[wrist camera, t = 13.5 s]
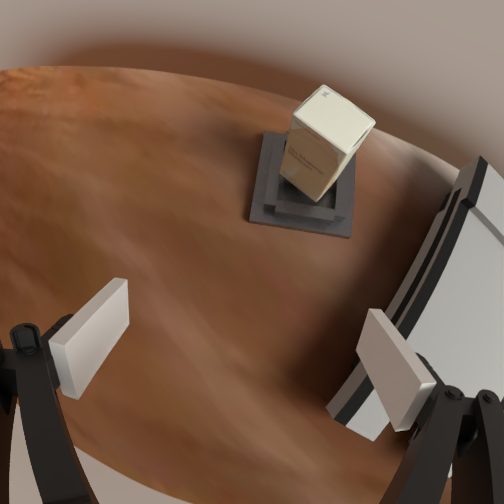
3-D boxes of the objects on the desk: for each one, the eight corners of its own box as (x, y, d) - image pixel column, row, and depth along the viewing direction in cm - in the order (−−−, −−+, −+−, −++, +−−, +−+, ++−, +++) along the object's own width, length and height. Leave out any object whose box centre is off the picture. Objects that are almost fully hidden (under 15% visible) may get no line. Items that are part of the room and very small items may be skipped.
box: (277, 173, 31) (287, 110, 20) (302, 146, 31) (321, 80, 20) (318, 205, 30) (348, 154, 19) (341, 176, 30) (377, 119, 20)
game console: (318, 397, 30) (336, 423, 22) (445, 179, 34) (480, 155, 26) (430, 459, 28) (460, 484, 20) (528, 267, 32) (564, 259, 24)
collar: (249, 222, 33) (248, 215, 30) (264, 135, 35) (264, 122, 32) (348, 238, 32) (356, 232, 29) (353, 151, 34) (360, 140, 31)
